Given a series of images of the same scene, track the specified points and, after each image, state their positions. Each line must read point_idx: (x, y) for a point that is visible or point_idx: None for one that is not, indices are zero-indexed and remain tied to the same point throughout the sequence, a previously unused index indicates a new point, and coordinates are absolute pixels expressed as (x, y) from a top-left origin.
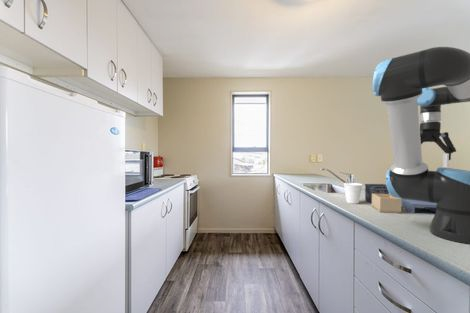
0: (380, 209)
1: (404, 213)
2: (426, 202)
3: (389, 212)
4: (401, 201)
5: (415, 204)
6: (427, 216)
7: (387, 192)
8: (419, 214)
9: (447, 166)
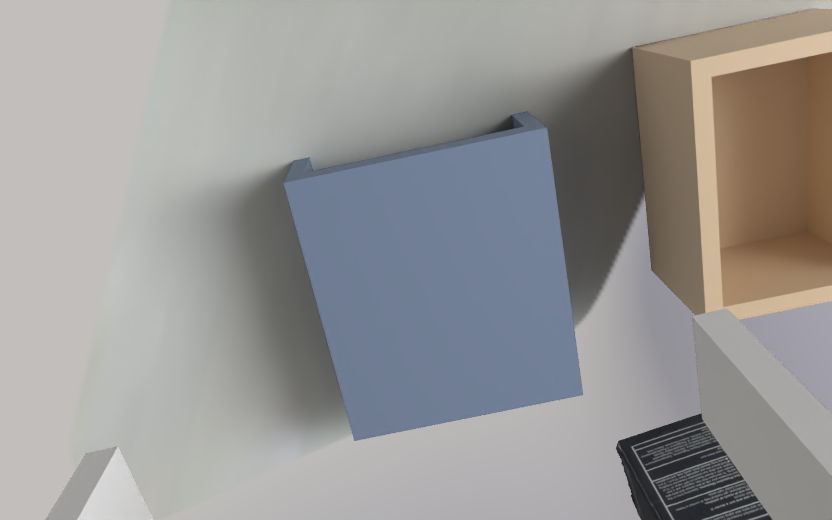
0: (827, 10)
1: (602, 64)
2: (391, 275)
3: (733, 26)
4: (679, 56)
5: (521, 131)
6: (436, 30)
7: (669, 507)
8: (482, 85)
9: (98, 462)
